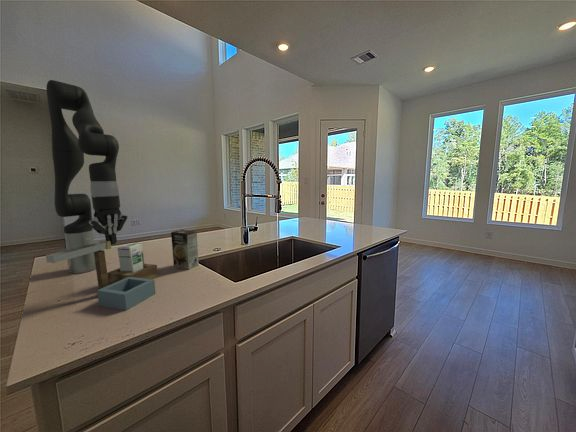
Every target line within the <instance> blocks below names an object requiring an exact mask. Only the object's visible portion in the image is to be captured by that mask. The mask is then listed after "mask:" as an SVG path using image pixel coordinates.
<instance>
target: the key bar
mask: <svg viewBox="0 0 576 432" xmlns="http://www.w3.org/2000/svg"><path fill="white" fill-rule="evenodd" d="M109 249H110V250H111V249H112V245H111V242H110V241H106V239H105V240H104V239H103V240H98V242H94V244H90V245H86V246H82V247H78V248H74V249H70V250H67V249H65V250H62V251H59V252H58V251H57V252H54V253H50V254H47V255H45V259H46V263H51V264H57V263H60V262H63V261H68V259H71V258H75V257H78V256H82V255H85V254H89V253H92V252H96V251H99V250H109Z"/></svg>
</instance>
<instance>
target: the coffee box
mask: <svg viewBox="0 0 576 432" xmlns="http://www.w3.org/2000/svg"><path fill="white" fill-rule="evenodd" d="M170 235H171V237H170V238H171V246H172V247H171V248H172V259H173V260H172V261H173V262H172V263H173V267H174V268H178V269H183V270H191V269H195V268H196V267H198V266H199V251H198V250H199V249H198V247H199V246H198V232H197V231H196V230H189V229H188V230H187V229H180V230H174V231H171V232H170Z"/></svg>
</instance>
